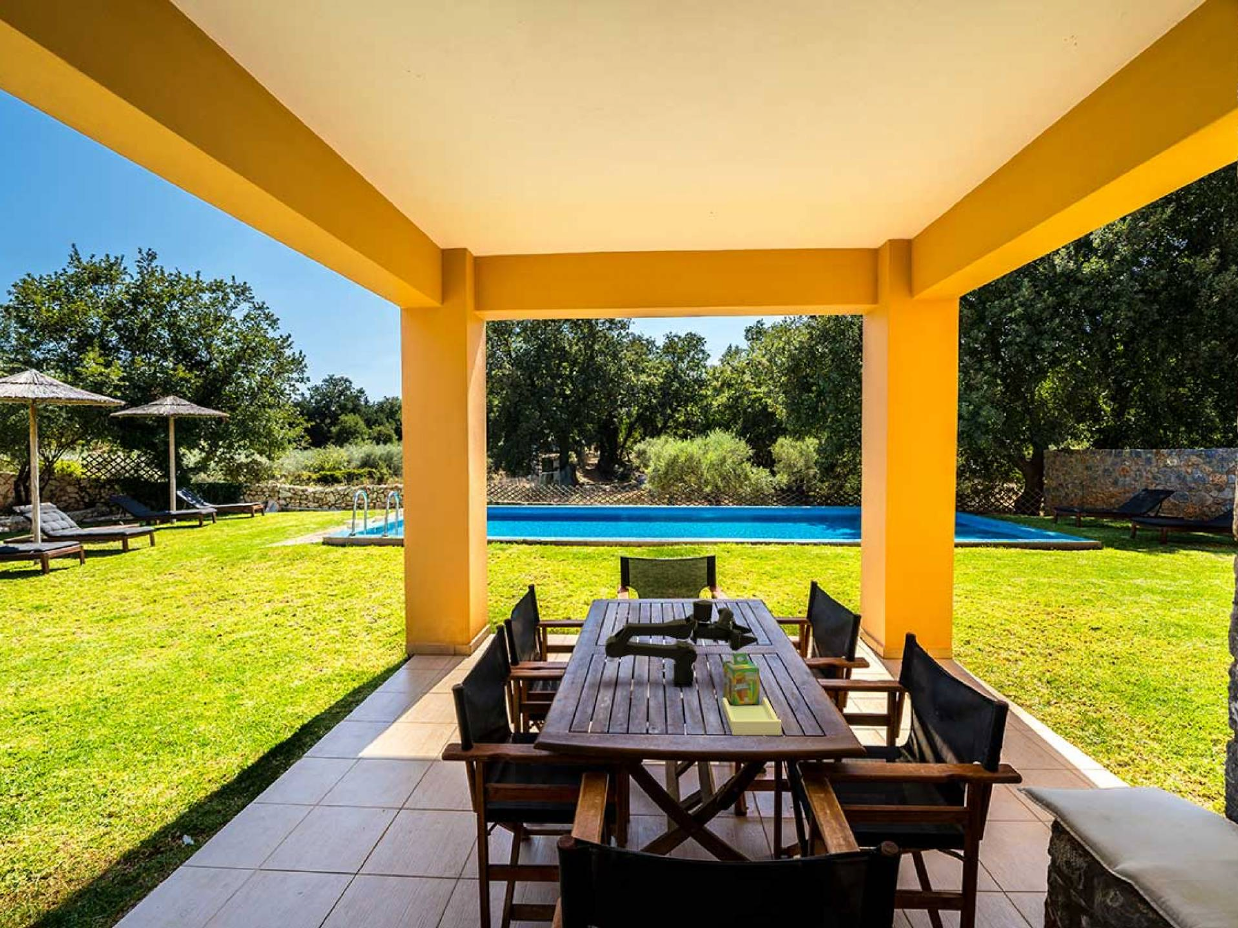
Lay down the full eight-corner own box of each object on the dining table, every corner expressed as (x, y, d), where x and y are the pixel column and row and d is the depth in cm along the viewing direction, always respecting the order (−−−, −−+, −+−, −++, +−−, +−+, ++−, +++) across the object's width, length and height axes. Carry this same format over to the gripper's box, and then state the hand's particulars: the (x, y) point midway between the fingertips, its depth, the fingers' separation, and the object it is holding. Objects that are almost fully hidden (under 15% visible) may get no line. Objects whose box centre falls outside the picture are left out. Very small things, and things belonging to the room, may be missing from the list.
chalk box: (733, 706, 187) (733, 659, 187) (723, 695, 196) (722, 651, 196) (760, 703, 189) (760, 657, 189) (748, 693, 198) (748, 649, 198)
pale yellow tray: (732, 734, 170) (732, 721, 170) (722, 706, 188) (722, 694, 188) (781, 734, 170) (781, 721, 169) (766, 706, 188) (766, 694, 188)
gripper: (716, 616, 197) (763, 620, 197) (708, 601, 215) (751, 604, 215) (713, 649, 197) (760, 653, 197) (705, 631, 216) (748, 634, 216)
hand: (754, 635), depth 206 cm, fingers open, 9 cm apart
